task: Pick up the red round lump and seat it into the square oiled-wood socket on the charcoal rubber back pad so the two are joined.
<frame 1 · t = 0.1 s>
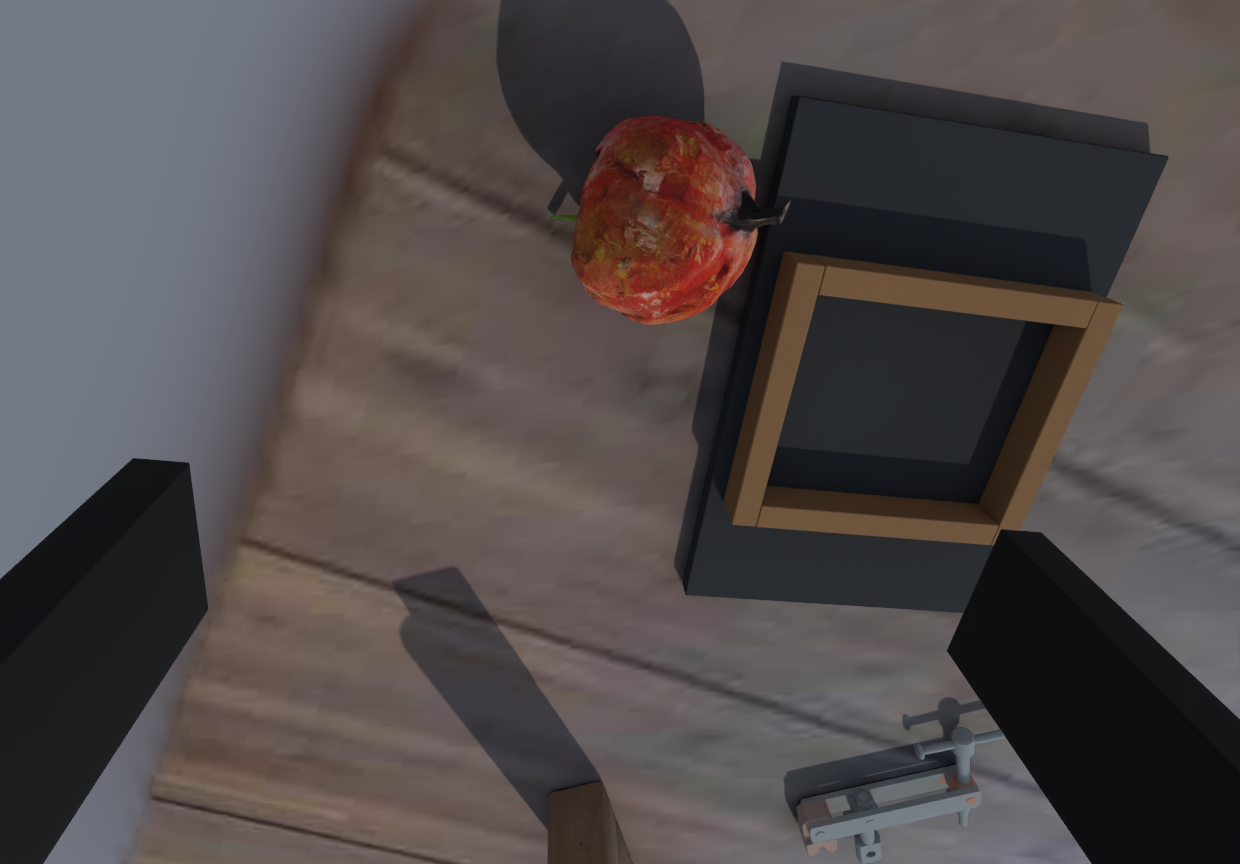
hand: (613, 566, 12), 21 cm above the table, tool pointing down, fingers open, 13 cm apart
back pad: (889, 394, 35), on the table
red round lump: (646, 207, 30), on the table
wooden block: (595, 834, 48), on the table
clamp: (905, 780, 48), on the table
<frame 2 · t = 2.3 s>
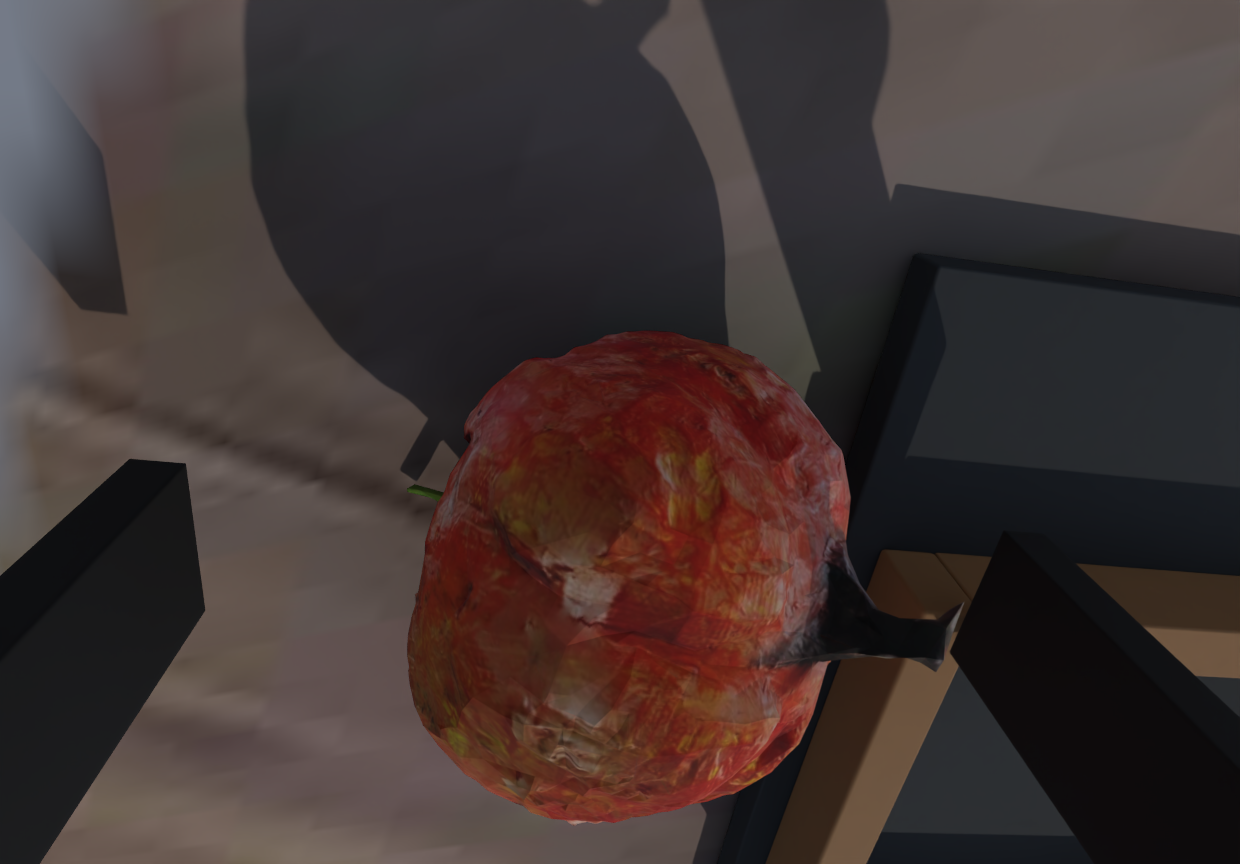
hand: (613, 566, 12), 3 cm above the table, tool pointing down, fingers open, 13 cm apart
back pad: (1046, 732, 19), on the table
red round lump: (605, 460, 15), on the table
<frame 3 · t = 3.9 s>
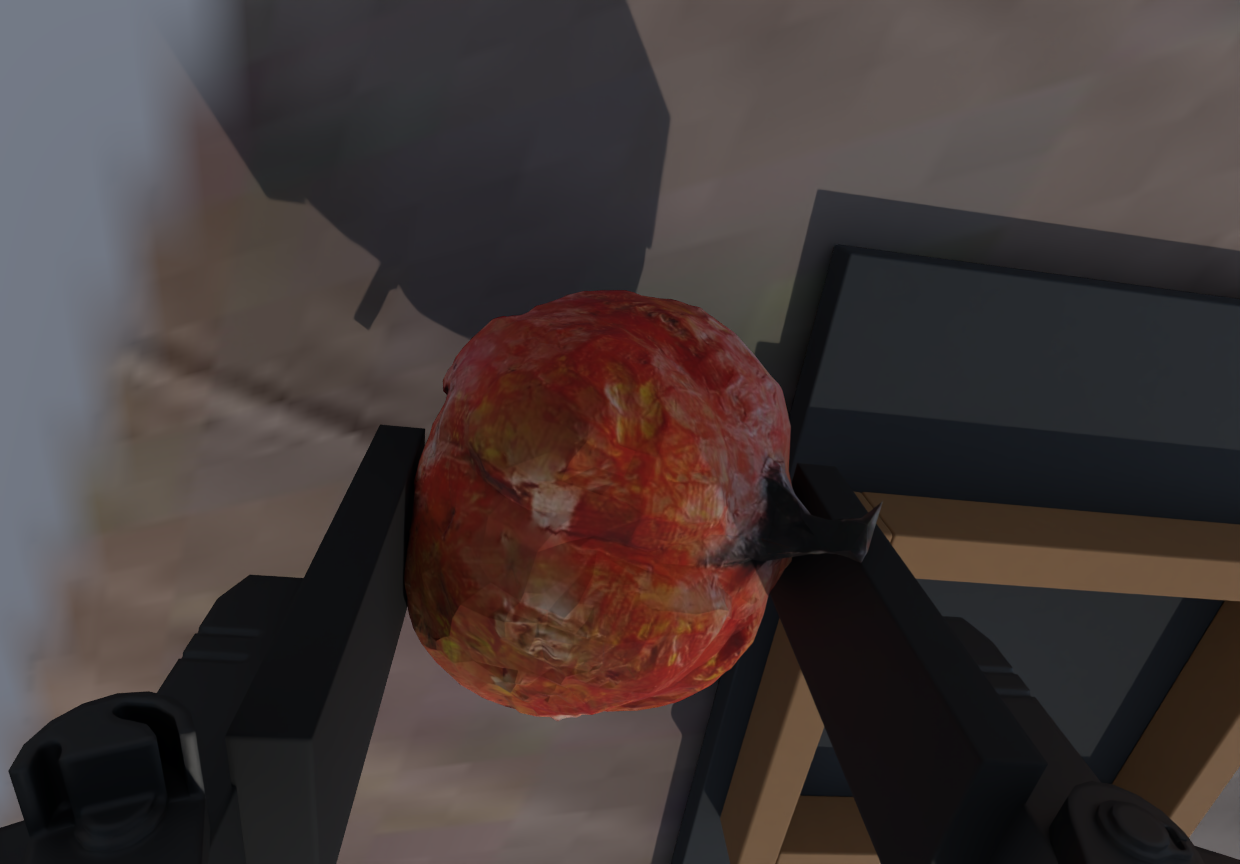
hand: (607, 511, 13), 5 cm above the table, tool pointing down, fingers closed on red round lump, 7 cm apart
back pad: (973, 660, 23), on the table
red round lump: (579, 418, 16), point 2 cm above the table, touching gripper
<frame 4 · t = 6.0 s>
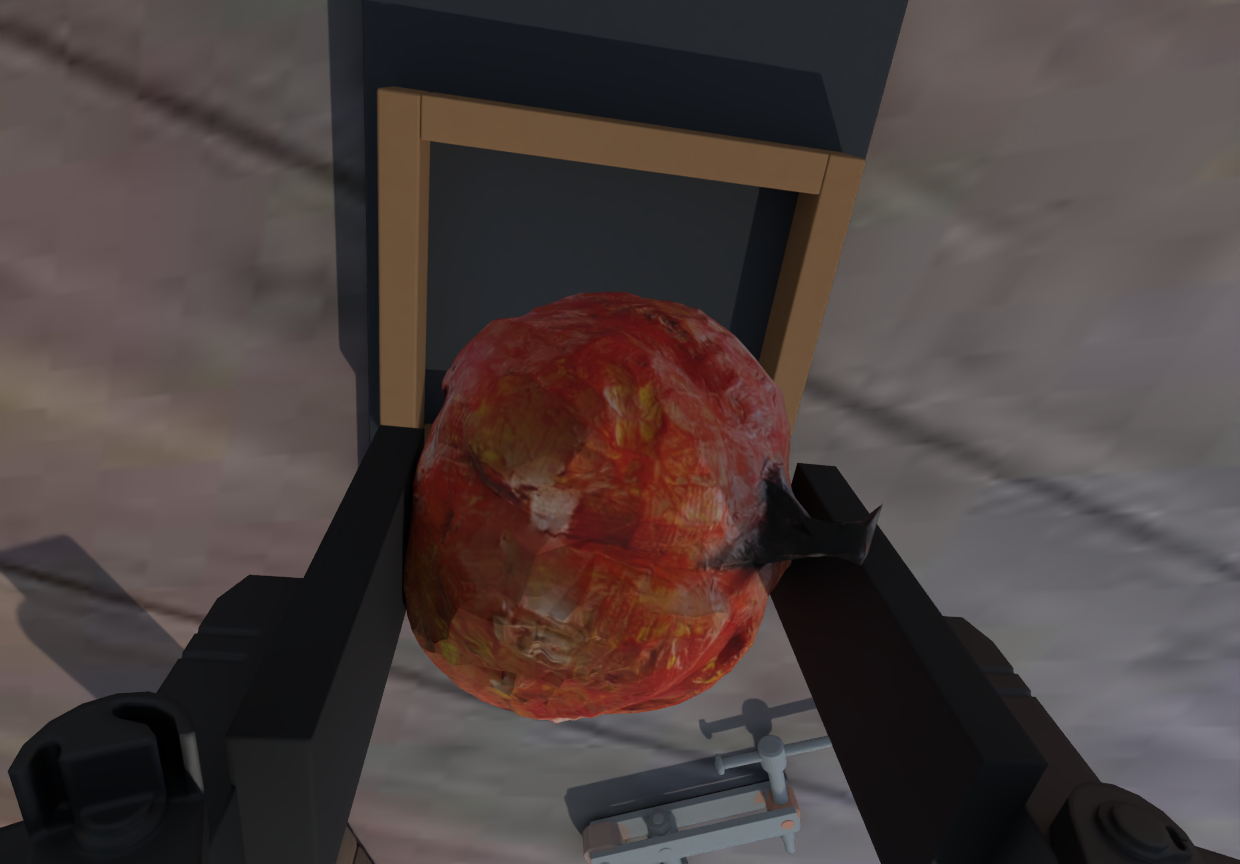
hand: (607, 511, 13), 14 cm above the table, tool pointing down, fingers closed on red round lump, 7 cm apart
back pad: (600, 302, 26), on the table
red round lump: (578, 420, 16), point 11 cm above the table, touching gripper
clamp: (718, 798, 39), on the table
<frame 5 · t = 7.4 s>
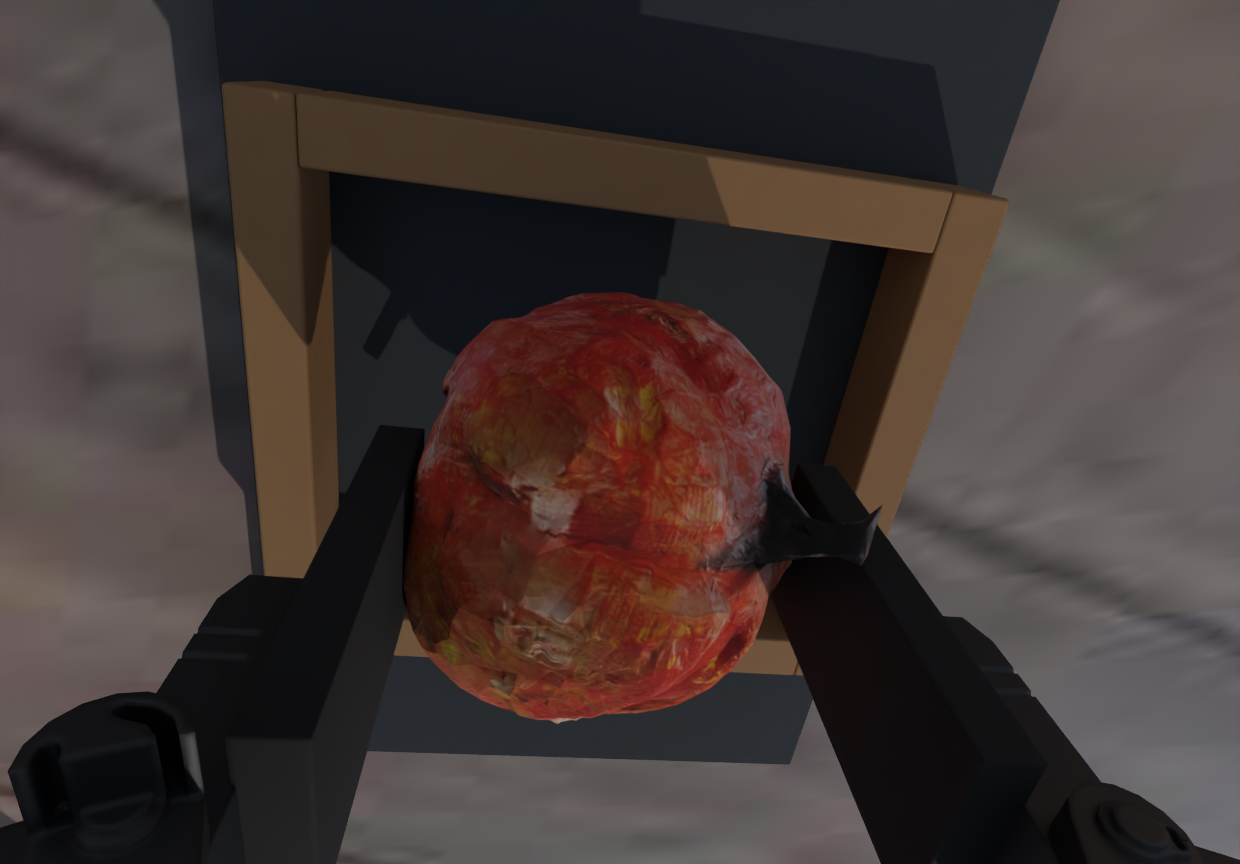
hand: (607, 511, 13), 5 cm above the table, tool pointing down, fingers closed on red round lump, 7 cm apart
back pad: (593, 394, 18), on the table
red round lump: (578, 420, 16), point 2 cm above the table, touching gripper
when the fingers open (4 cm above the table, at t = 8.2 s): red round lump stays where it is, resting on back pad.
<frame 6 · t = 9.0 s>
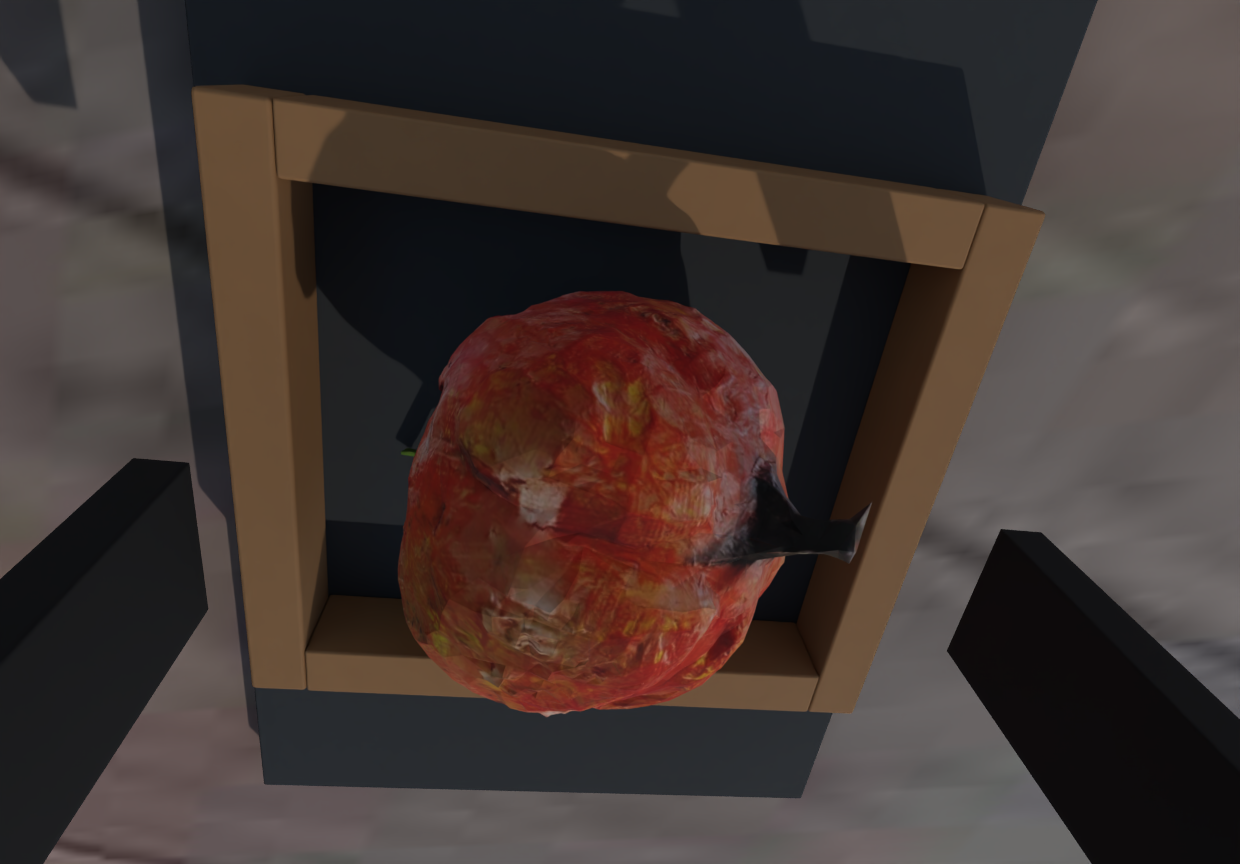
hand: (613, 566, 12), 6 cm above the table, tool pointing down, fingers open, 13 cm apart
back pad: (595, 415, 17), on the table
red round lump: (579, 419, 16), point 1 cm above the table, touching back pad
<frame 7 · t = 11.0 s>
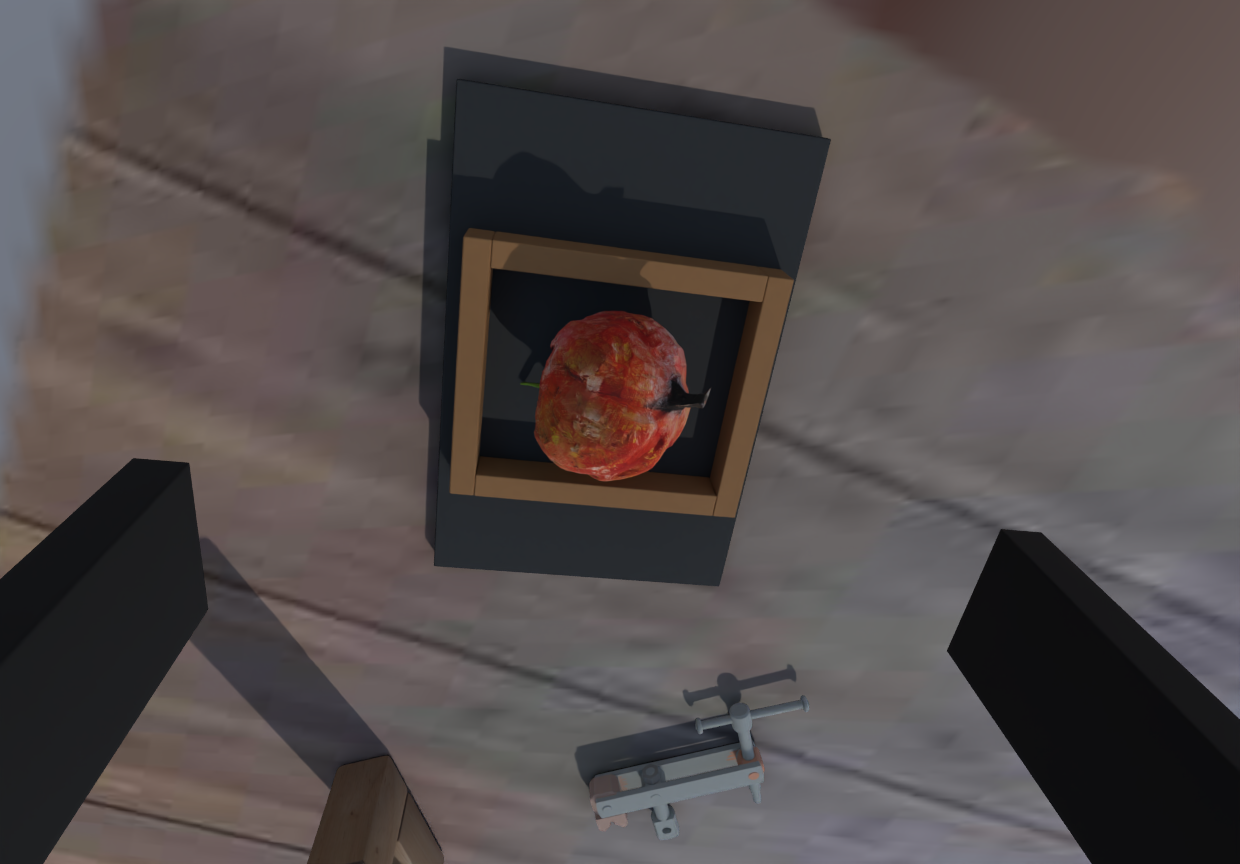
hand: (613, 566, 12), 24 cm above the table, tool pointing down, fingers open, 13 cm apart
back pad: (609, 369, 36), on the table
red round lump: (601, 369, 35), point 1 cm above the table, touching back pad
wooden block: (394, 809, 49), on the table
clamp: (699, 757, 49), on the table
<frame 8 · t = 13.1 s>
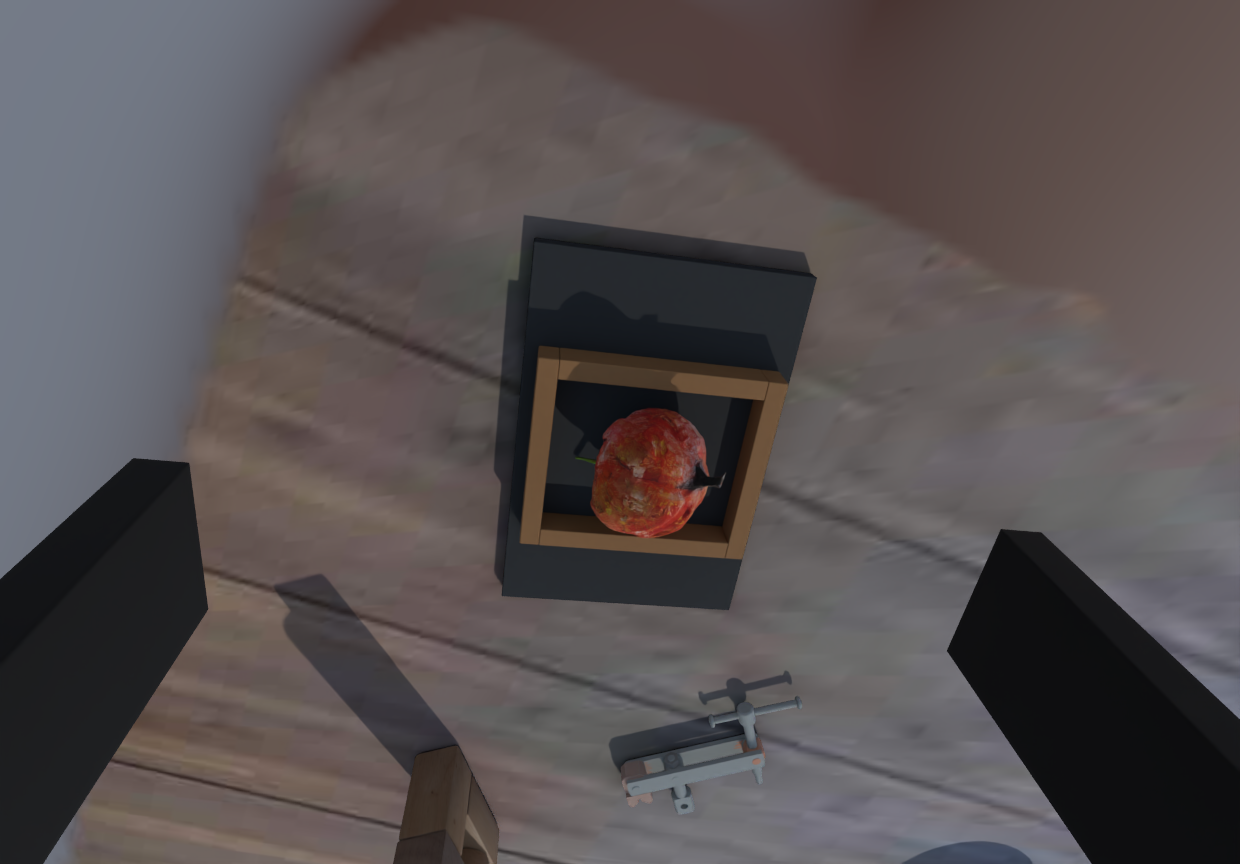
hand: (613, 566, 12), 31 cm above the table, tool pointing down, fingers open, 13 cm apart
back pad: (643, 444, 46), on the table
red round lump: (638, 445, 45), point 1 cm above the table, touching back pad
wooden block: (459, 789, 59), on the table
clamp: (711, 746, 59), on the table
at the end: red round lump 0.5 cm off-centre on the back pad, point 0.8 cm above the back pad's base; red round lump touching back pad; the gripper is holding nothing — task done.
